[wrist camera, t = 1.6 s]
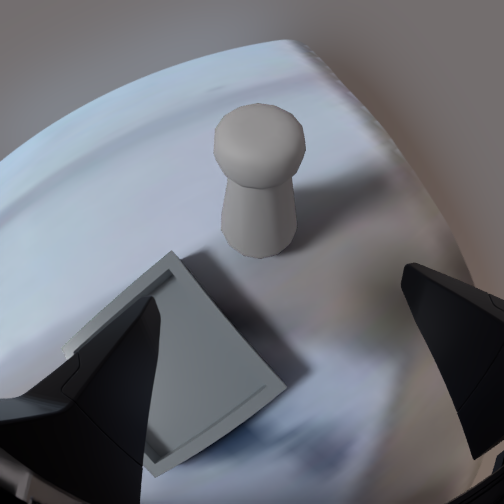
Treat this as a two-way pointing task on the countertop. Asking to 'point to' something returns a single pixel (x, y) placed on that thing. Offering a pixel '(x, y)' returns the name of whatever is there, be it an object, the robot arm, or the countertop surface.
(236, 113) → the salt shaker
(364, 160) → the countertop surface
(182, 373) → the tray
